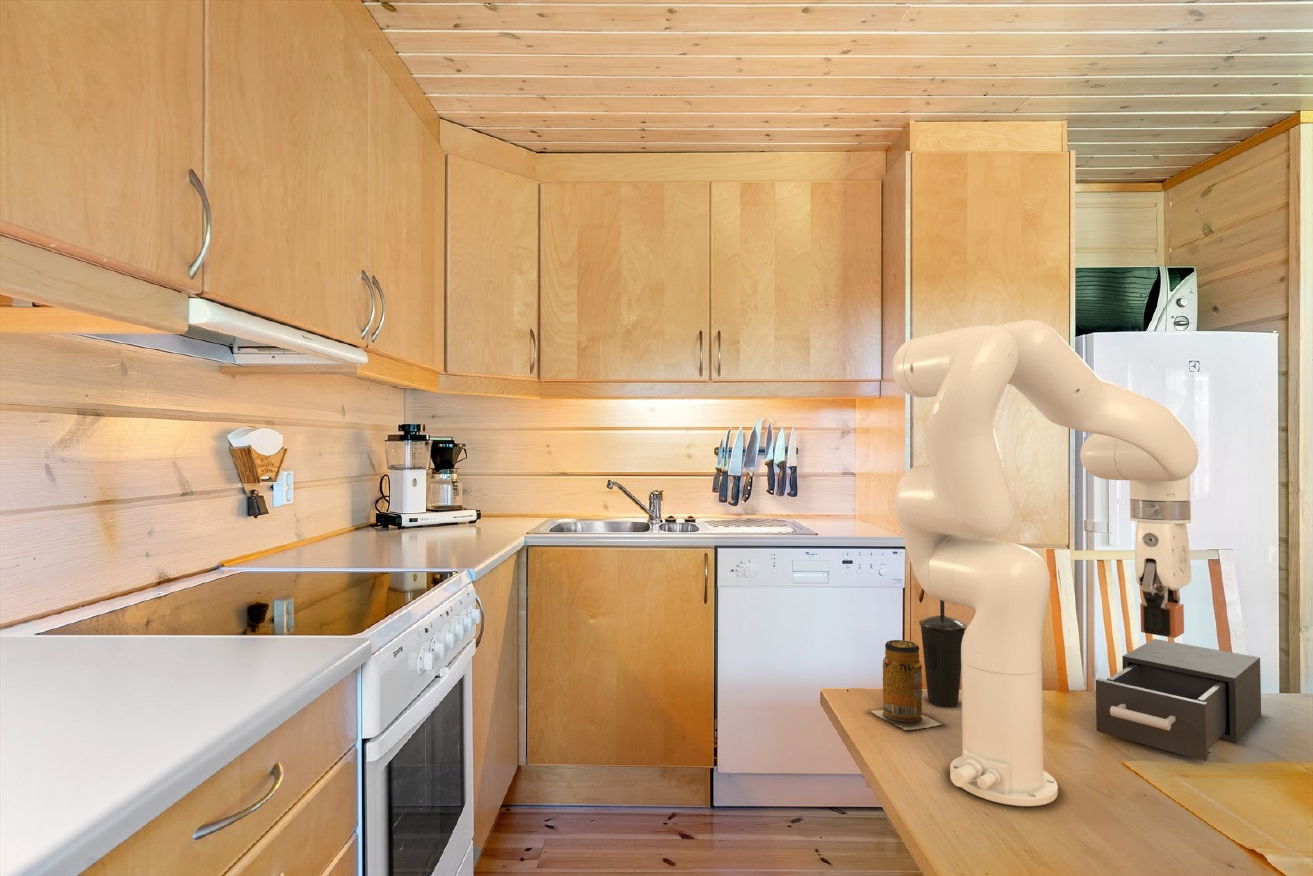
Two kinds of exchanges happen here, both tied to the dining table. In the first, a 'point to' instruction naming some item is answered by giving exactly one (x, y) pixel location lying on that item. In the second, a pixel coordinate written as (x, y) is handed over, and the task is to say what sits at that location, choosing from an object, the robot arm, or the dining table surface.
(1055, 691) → the dining table surface
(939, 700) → the drinking cup
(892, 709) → the condiment
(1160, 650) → the cabinet
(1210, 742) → the drawer
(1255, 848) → the dining table surface
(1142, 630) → the block
